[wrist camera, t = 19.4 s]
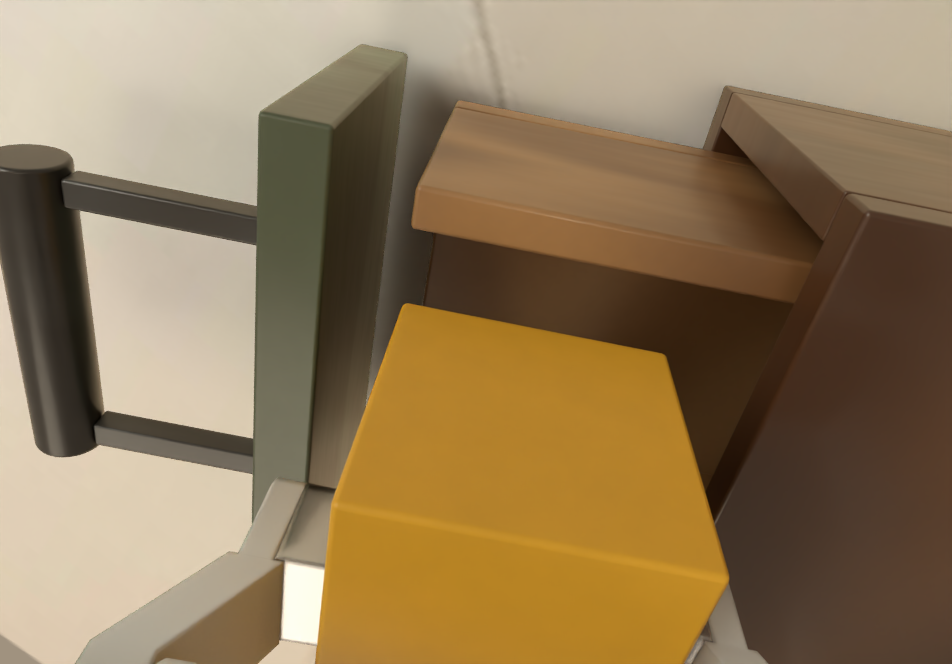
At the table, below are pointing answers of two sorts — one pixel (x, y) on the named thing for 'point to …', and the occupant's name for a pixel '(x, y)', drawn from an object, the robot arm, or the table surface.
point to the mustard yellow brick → (517, 505)
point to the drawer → (449, 272)
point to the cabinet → (847, 397)
